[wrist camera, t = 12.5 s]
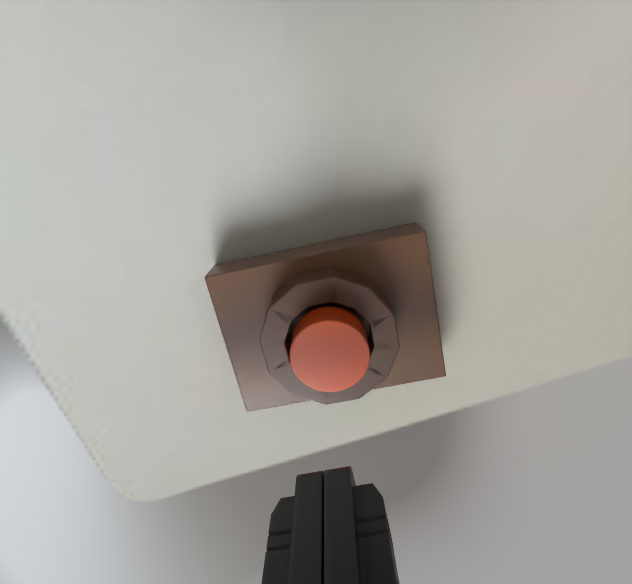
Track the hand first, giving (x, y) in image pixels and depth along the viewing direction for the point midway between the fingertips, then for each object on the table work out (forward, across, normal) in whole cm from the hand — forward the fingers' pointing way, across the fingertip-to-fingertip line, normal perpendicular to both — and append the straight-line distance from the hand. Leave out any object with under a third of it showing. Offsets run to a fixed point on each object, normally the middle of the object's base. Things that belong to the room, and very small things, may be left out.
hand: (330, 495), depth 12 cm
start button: (+10, 0, 0) cm, 10 cm away
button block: (+13, 0, 0) cm, 13 cm away
